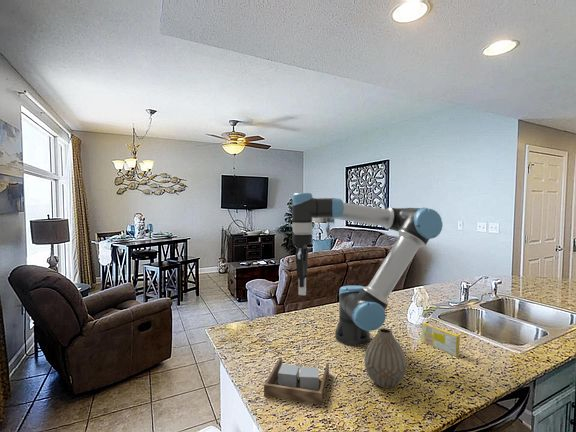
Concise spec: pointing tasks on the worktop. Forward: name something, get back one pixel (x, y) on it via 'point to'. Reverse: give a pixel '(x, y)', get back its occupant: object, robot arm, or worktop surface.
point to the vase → (385, 359)
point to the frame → (292, 392)
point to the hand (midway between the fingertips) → (302, 294)
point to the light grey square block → (309, 378)
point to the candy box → (440, 339)
